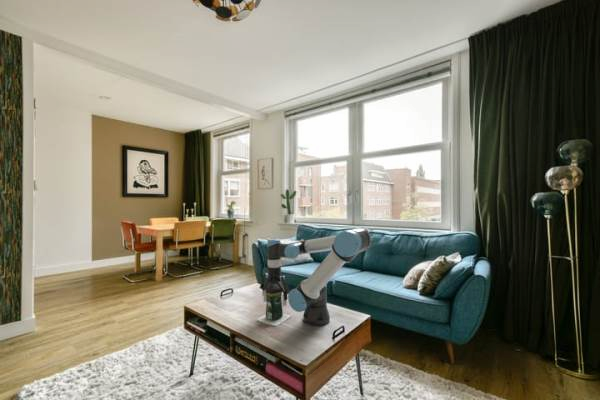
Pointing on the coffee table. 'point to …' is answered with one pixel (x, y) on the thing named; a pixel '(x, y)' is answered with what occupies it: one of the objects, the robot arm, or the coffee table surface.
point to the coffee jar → (273, 302)
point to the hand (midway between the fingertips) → (274, 303)
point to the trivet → (274, 322)
